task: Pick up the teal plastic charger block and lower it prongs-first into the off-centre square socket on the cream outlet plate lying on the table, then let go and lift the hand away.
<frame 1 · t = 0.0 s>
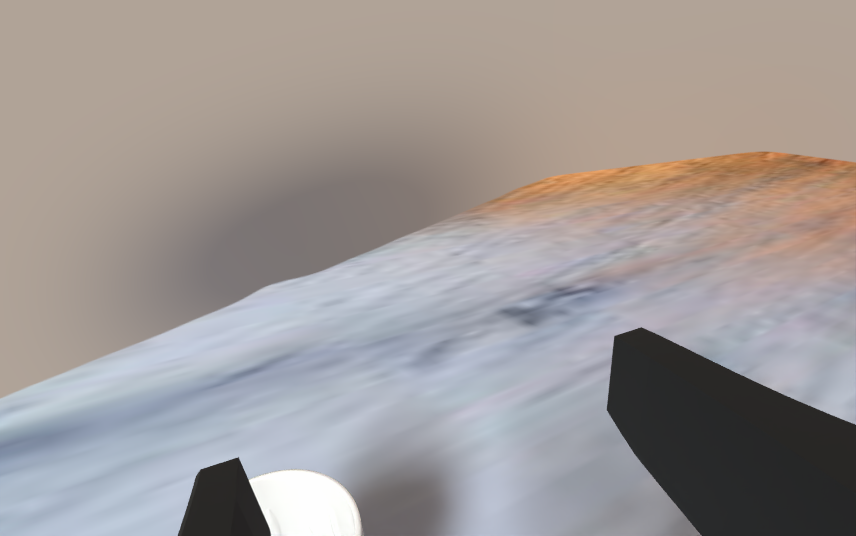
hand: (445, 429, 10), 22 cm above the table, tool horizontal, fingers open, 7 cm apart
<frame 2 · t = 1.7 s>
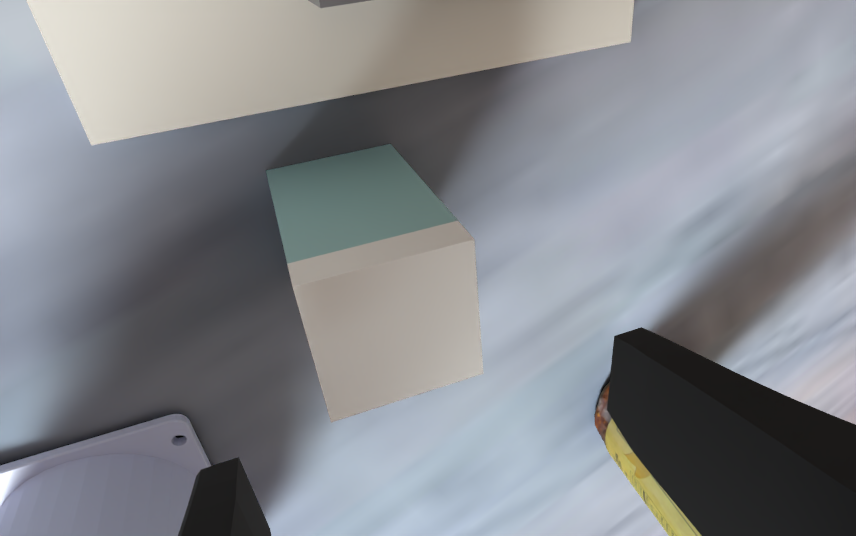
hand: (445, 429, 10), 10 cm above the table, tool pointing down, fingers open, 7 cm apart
charger block: (341, 213, 18), on the table
sauce bottle: (633, 392, 29), on the table
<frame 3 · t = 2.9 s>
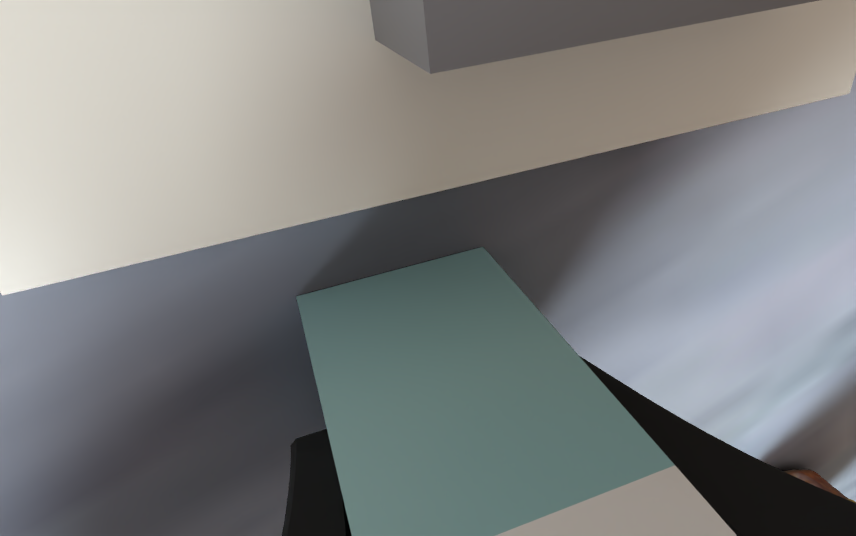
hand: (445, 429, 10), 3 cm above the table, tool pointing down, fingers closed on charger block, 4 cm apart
charger block: (405, 344, 12), on the table, touching gripper
sauce bottle: (744, 510, 23), on the table
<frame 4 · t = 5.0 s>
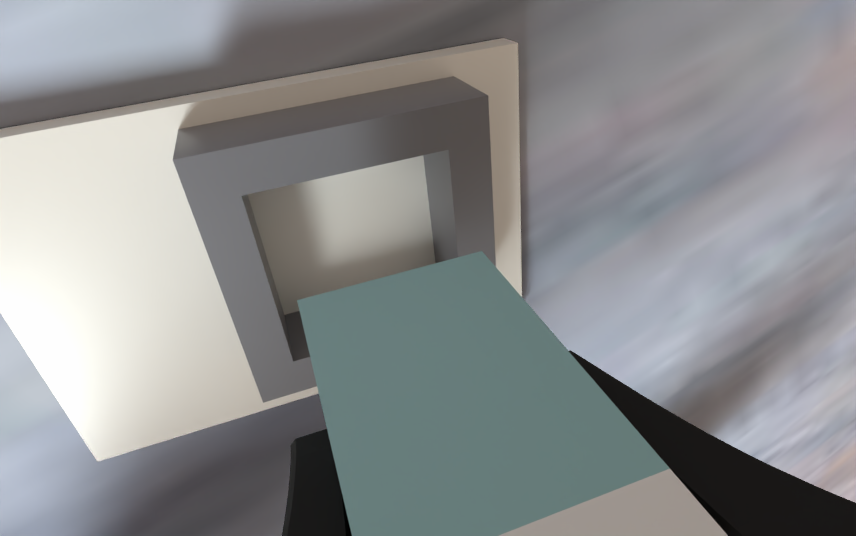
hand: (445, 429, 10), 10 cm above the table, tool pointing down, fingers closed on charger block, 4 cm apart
charger block: (404, 347, 13), point 7 cm above the table, touching gripper
outlet plate: (289, 252, 18), on the table
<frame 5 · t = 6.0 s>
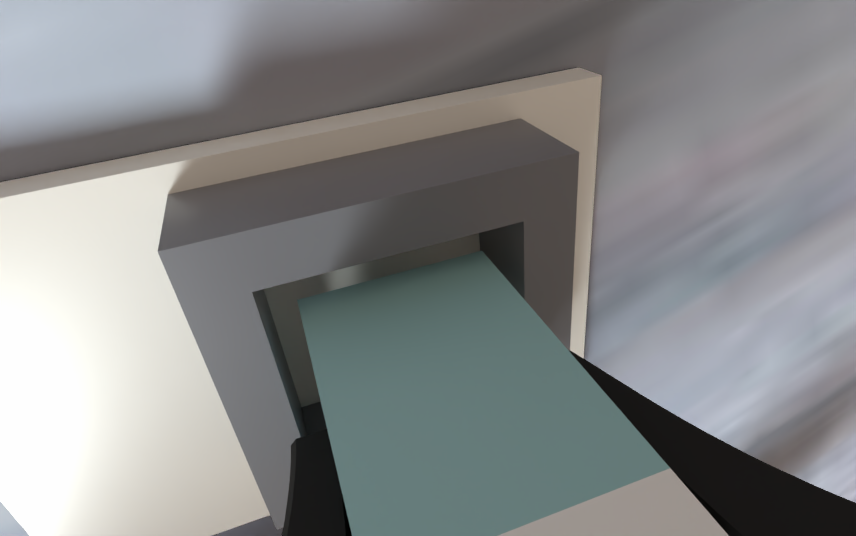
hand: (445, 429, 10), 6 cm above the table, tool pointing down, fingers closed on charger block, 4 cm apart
charger block: (404, 347, 13), point 3 cm above the table, touching gripper
outlet plate: (308, 329, 15), on the table
when the fingers open (5 cm above the table, at t = 7.0 s): charger block drops 1 cm, resting on outlet plate.
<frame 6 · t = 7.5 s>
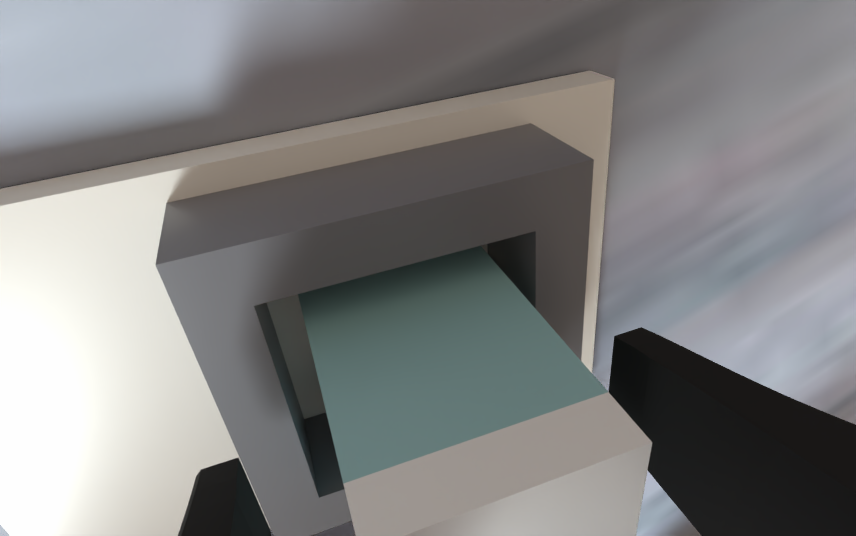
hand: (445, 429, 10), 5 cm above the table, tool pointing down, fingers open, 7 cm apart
charger block: (390, 312, 14), point 1 cm above the table, touching outlet plate
outlet plate: (311, 339, 15), on the table
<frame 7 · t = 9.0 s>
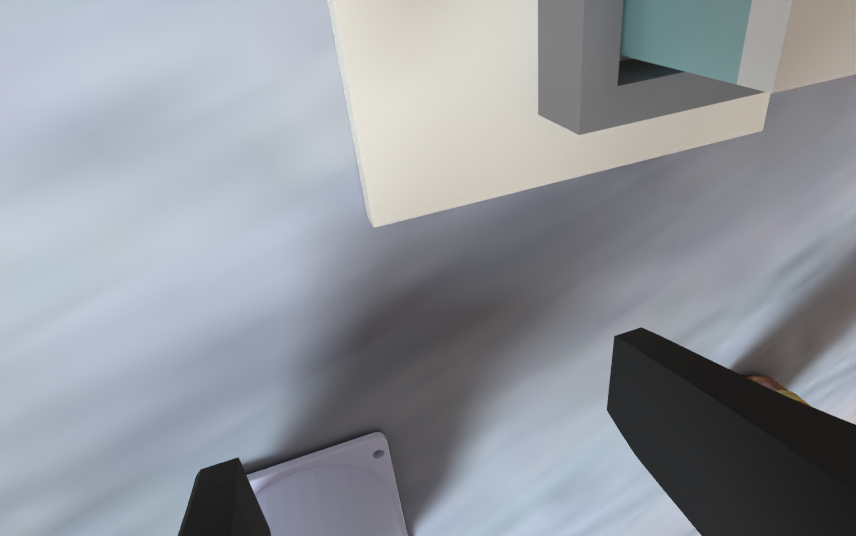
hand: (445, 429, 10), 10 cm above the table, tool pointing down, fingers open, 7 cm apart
sauce bottle: (723, 409, 33), on the table
outlet plate: (575, 8, 18), on the table
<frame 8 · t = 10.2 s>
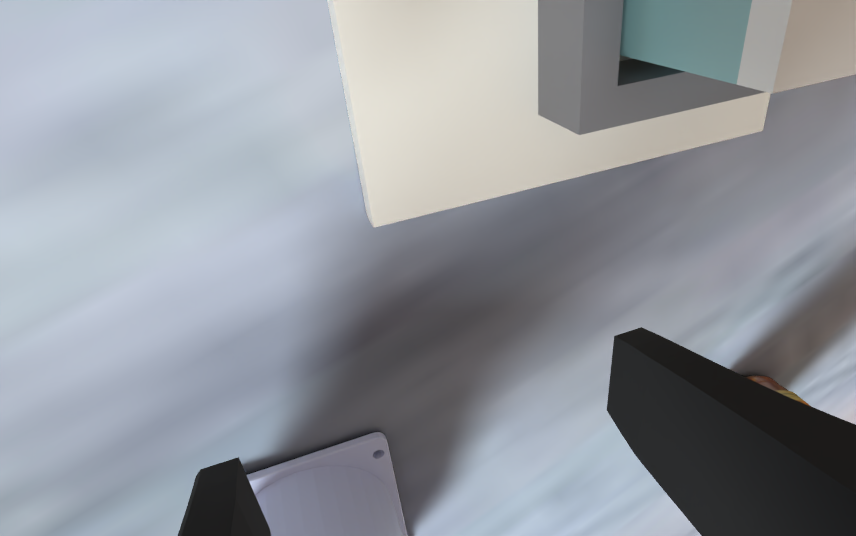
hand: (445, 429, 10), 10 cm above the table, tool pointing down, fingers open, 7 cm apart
sauce bottle: (723, 409, 33), on the table
outlet plate: (575, 8, 18), on the table
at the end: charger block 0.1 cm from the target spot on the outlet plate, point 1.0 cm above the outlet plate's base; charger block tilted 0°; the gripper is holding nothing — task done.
